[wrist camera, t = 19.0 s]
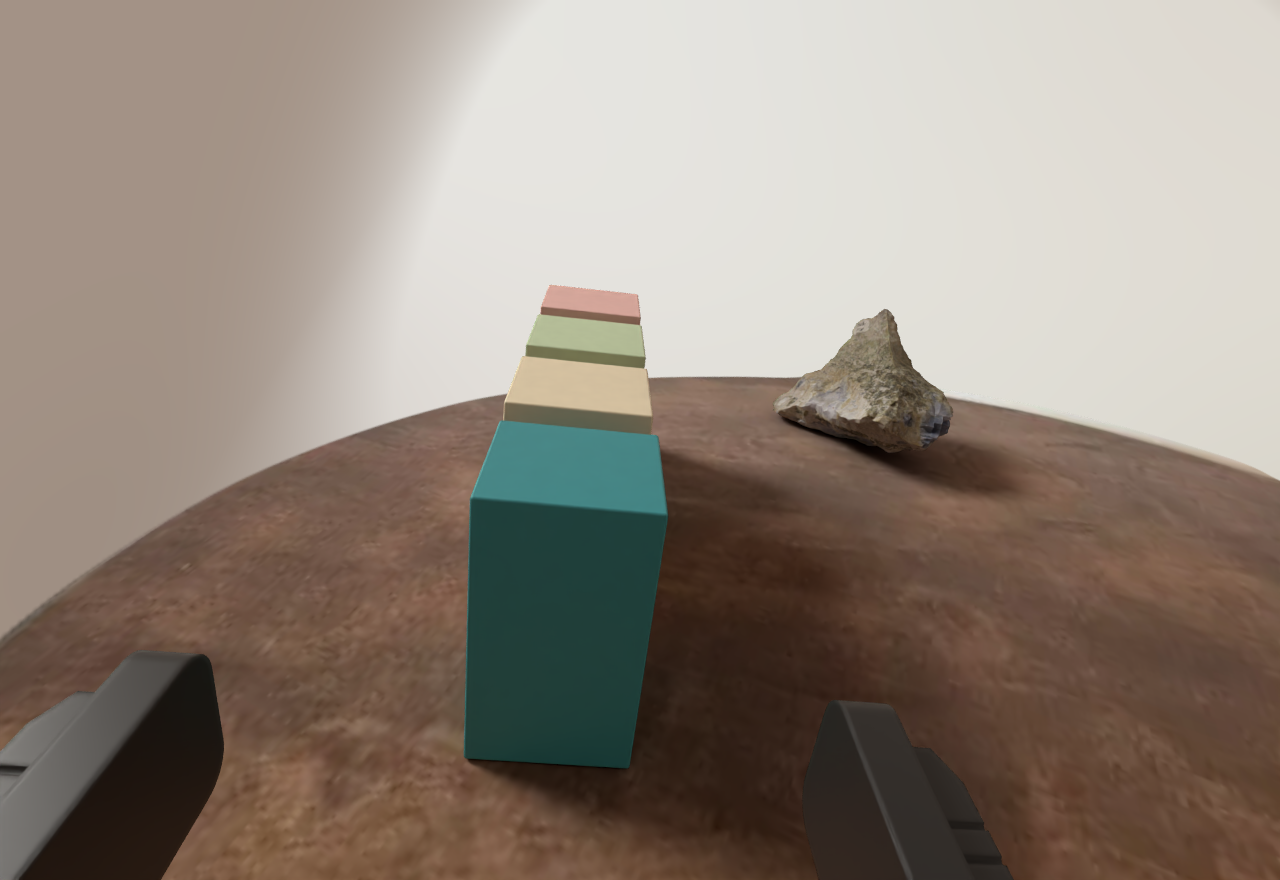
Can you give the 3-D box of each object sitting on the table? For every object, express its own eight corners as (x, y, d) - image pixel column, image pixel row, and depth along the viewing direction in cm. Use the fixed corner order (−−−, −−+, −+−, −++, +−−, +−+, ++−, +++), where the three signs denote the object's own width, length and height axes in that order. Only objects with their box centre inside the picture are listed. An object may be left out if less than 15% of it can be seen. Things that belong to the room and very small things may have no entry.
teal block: (629, 769, 22) (668, 514, 18) (463, 759, 21) (469, 496, 18) (627, 656, 26) (658, 434, 23) (490, 646, 26) (499, 419, 22)
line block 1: (621, 475, 40) (640, 316, 36) (530, 467, 39) (540, 305, 36) (620, 438, 44) (638, 294, 40) (539, 430, 44) (549, 284, 40)
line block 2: (622, 539, 34) (645, 356, 30) (515, 530, 33) (526, 344, 30) (621, 488, 38) (641, 324, 35) (527, 480, 38) (537, 313, 34)
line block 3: (624, 629, 28) (653, 416, 24) (494, 620, 27) (503, 401, 24) (623, 557, 32) (647, 368, 29) (511, 547, 32) (521, 355, 28)
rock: (758, 395, 51) (864, 298, 50) (799, 446, 54) (898, 355, 54) (851, 466, 41) (982, 347, 41) (893, 523, 44) (1015, 413, 44)
